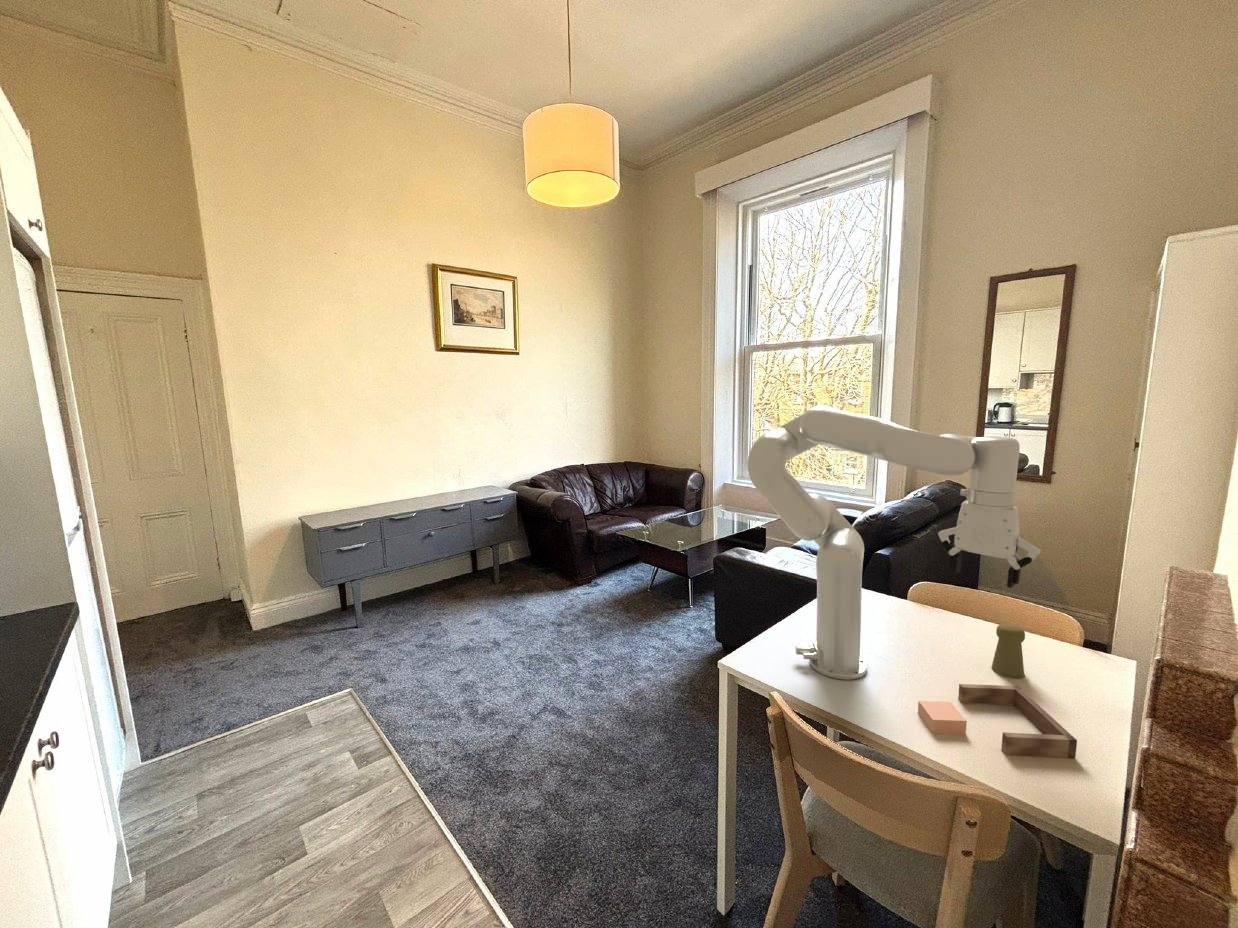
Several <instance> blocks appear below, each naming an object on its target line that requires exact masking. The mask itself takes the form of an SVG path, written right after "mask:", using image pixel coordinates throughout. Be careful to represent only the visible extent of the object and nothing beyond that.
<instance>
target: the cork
mask: <svg viewBox="0 0 1238 928" xmlns="http://www.w3.org/2000/svg"><path fill="white" fill-rule="evenodd" d="M995 633H996V636H997V638H998V639H997V644H996V648H995V651H994V656H993V659H992V663H991V664H992V665H991V670H992V671H993V673H996V675H999V676H1001V677H1004V678H1009V679H1013V680H1020V679H1024V677H1025V667H1024V657H1023V656H1024V655H1023V646H1022V643H1023V642H1024V641H1025V639H1026V633H1025V630H1024V629H1023V627H1020V626H1019V625H1016V624H1013V623H1007V622H1006V623H1000V624H998V625H997V627H996V631H995Z"/></svg>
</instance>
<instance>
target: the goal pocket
mask: <svg viewBox="0 0 1238 928" xmlns="http://www.w3.org/2000/svg"><path fill="white" fill-rule="evenodd" d="M957 698H958V699H957V700H958V701H959V702H960V703H961V704H979V705H981V704H982V705H1000V706H1001V705H1002V706H1003V705H1005V706H1006V705H1007V706H1015V707H1016V709H1017V710H1019V711H1020V712H1021V714H1022V715H1024V717H1026V719H1028V720H1029V722H1031V723H1032V724H1033V725H1034V727H1036V729H1038V731H1040V732H1041V734H1040V733H1024V732H1022V733H1021V732H1002V737H1001V749H1000V750H1001V752H1002V753H1003V754H1004V755H1006V756H1021V757H1022V756H1025V757H1043V758H1059V759H1061V758H1062V759H1076V755H1077V747H1078V746H1077V745H1078V744H1077V743H1078V739H1076V738H1075V737H1074V736H1073V734H1071V733H1069V731H1067V729H1065V727H1063V726H1062V724H1060V723H1059V722H1058V721H1057V720H1056V719H1055V718H1053V716H1051V715H1050V714H1049V713H1048V712H1047V711H1046V710H1045V709H1044V708H1043V707H1041V706H1040V705H1039V704H1038V703H1037V702H1036V701H1035V700H1034V699H1033V698H1032V697H1031V696H1030V695H1028V694H1027V693H1026V692H1025V691H1024V690H1023V689H1022V688H1021V687H1020V686H1018V685H997V684H996V685H995V684H973V683H972V684H967V683H959V684H958V697H957Z"/></svg>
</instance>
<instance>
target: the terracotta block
mask: <svg viewBox="0 0 1238 928" xmlns="http://www.w3.org/2000/svg"><path fill="white" fill-rule="evenodd" d="M917 702H918V703H917V704H918V705H917V714H918V715H919V717H920V718H921V720H922V721H923V723H924V724H925V725H926V726H927V729H929V730H930V732H931V733H932V734H951V735H952V734H958V735H960V734H961V735H966V734H967V724H968V723H967V722H968V721H967V719H966V718H965V717H964V716H963V715H962V714H961V712H960V711H959V710H958V709H957V708H956V707H955V705H953V702H951V701H943V700H941V701H939V700H938V701H935V700H918V701H917Z"/></svg>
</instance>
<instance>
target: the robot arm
mask: <svg viewBox="0 0 1238 928" xmlns="http://www.w3.org/2000/svg"><path fill="white" fill-rule="evenodd" d="M818 445H820V446H824V447H829V448H833V449H839V450H842V451H847V452H852V453H854V454H860V455H864V456H867V457H870V458H871V457H872V458H874V459H877V460H879V461H880V460H881V461H885V462H889V463H892V464H896V465H898V466H899V465H900V466H903V467H907V468H910V469H915V470H919V471H923V472H926V473H927V472H928V473H931V474H936V475H940V476H944V477H945V476H946V477H956V476H961V475H963V474H965V473H967V472H968V471H969V472H970V473H969V475H970V476H969V482H968V483H969V484H968V487H967V488H965V489H964V488H961V489H960V492H959V495H960V496H963V497H965V498H966V501H962V503H961V506H960V509H959V512H958V518H957V521H956V526H954V527H950V528H947V529H942V530H939V532H938V533H937V535H938V537H939V540H940V541H941V544H942V546H943V548H945V549H946V550H947V552H948V555H949V556H950V559H949V569H951V574H952V575H957V574H958V573H960V572H961V569H962V560H963V555H962V553H961V552H962V551H964V552H968V553H972V554H977V555H983V556H988V557H992V558H995V559H996V558H997V559H1003V560H1006V561H1007V563H1009V564H1010V567H1009V568H1008V573H1007V580H1006V581H1007V582H1006V587H1007V588H1008V589H1012V588H1013V587H1015V586H1016V585H1018V584H1019V583H1020V578H1021V569H1022V568H1024V567H1026V566H1027V565H1029V564H1031V563H1032V562H1033V561H1035V559H1036V558H1037V557H1038V556H1039V555H1040V554H1041V551H1042V550H1041V549H1040V548H1039V547H1037V546H1036V545H1034V544H1033V543H1031V542H1029V541H1027V540H1026V539H1024V538H1022V537H1021V536H1020V520H1019V519H1020V518H1019V511H1018V507H1017V506H1014V504H1015V497H1016V486H1017V477H1018V476H1017V475H1018V467H1019V459H1020V452H1021V451H1020V447H1021V446H1020V445H1021V444H1020V442H1019V440H1017V438H1013V437H1007V436H994V435H993V436H981V437H980V436H969V435H963V434H957V433H956V434H955V433H943V434H940V435H938V434H935V433H934V434H933V433H928V432H924V431H919V430H915V429H912V428H907V427H905V426H902V425H899V424H896V423H895V422H892V421H890V420H888V419H886V418H881V417H877V416H874V415H873V416H872V415H866V414H862V413H856V412H851V411H845V410H841V409H837V408H835V407H833V406H830V405H826V404H819V405H815V406H813V407H811V408H808V409H807V410H806V411H805V412H804V413H802V414H801V415H799V416H797V417H796V418H794V419H791V420H790V421H788V422H787V423H784V424H782V425H780V426H777V428H775V429H773V430H771V431H768V432H766V433H764V434H762V435H760V436H759V437H758V438H757V439H756V440H755V441H754V443H753V445H752V447H750V451H749V454H748V456H747V468H746V469H747V472H748V476H749V479H750V481H751V484H753V487H755V489H756V490H757V492H759V494H760V495H761V496H762V498H764V500H765V501H766V502H767V503H768V504H769V506H770V507H771V508H772V509H773V511H774V512H775V513H776V514H777V515H778V516H779V517H780V519H781V520H782V521H783V522H784V523H785V525H786V526H787V527H788V529H789V530H790V531H791V533H793V535H795V536H796V537H797V538H799V539H800V540H803V541H807V542H808V541H809V542H811V541H812V542H813V541H814V543H815V544H817V546H818V547H819V548H818V549H817V554H816V562H815V566H816V567H815V569H816V570H815V571H816V587H817V588H816V641H814V640H813V641H812V645H808V646H802V645H801V646H799V645H796V646H795V654H796V655H797V656H799V655H800V656H802V657H803V660H808V661H809V664H810V666H811V667H812V669H814V670H815V671H816V672H818V673H819V674H822V675H824V676H826V677H829V678H832V679H836V680H845V681H846V680H855V679H856V680H857V679H859V678H863V676H865V675H866V673H867V670H868V664H867V662H866V661H865V659H863V657H861V656H860V655H861V630H862V629H861V625H862V585H863V582H862V581H863V566H864V565H863V564H864V563H863V562H864V555H865V554H864V553H865V544H864V540H863V538H862V536H861V535H860V533H859V532H858V531H857V530H856V529H855V527H854V526H853V525H852V524H851V523H850V522H849V521H848V520H847V519H846V517H844V516H843V514H842V513H841V512H840V511H839V510H838V509H837V507H835V506H834V504H832V502H831V501H829V500H828V499H827V498H826V497H824V496H823V495H820V494H817V493H808V492H807V490H805V488H804V487H803V486H802V485H801V484H800V482H799V481H798V480H797V479H796V478H795V477H794V476H793V475H792V474H790V472H788V470H787V467H786V464H787V463H788V462H790V460H792V459H793V458H795V457H797V456H799V455H801V454H803V453H804V452H805V453H806V452H807V451H809V450H810V449H813V448H814V447H817V446H818ZM952 535H954V539H953V540H954V543H953V542H952V541H951V540H950V537H949V536H952ZM1019 547H1020V548H1021V549H1023V550H1025V552H1026V551H1027V555H1026V556H1025V557H1022V558H1021V557H1020V556H1019V554H1018V551H1019Z"/></svg>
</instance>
